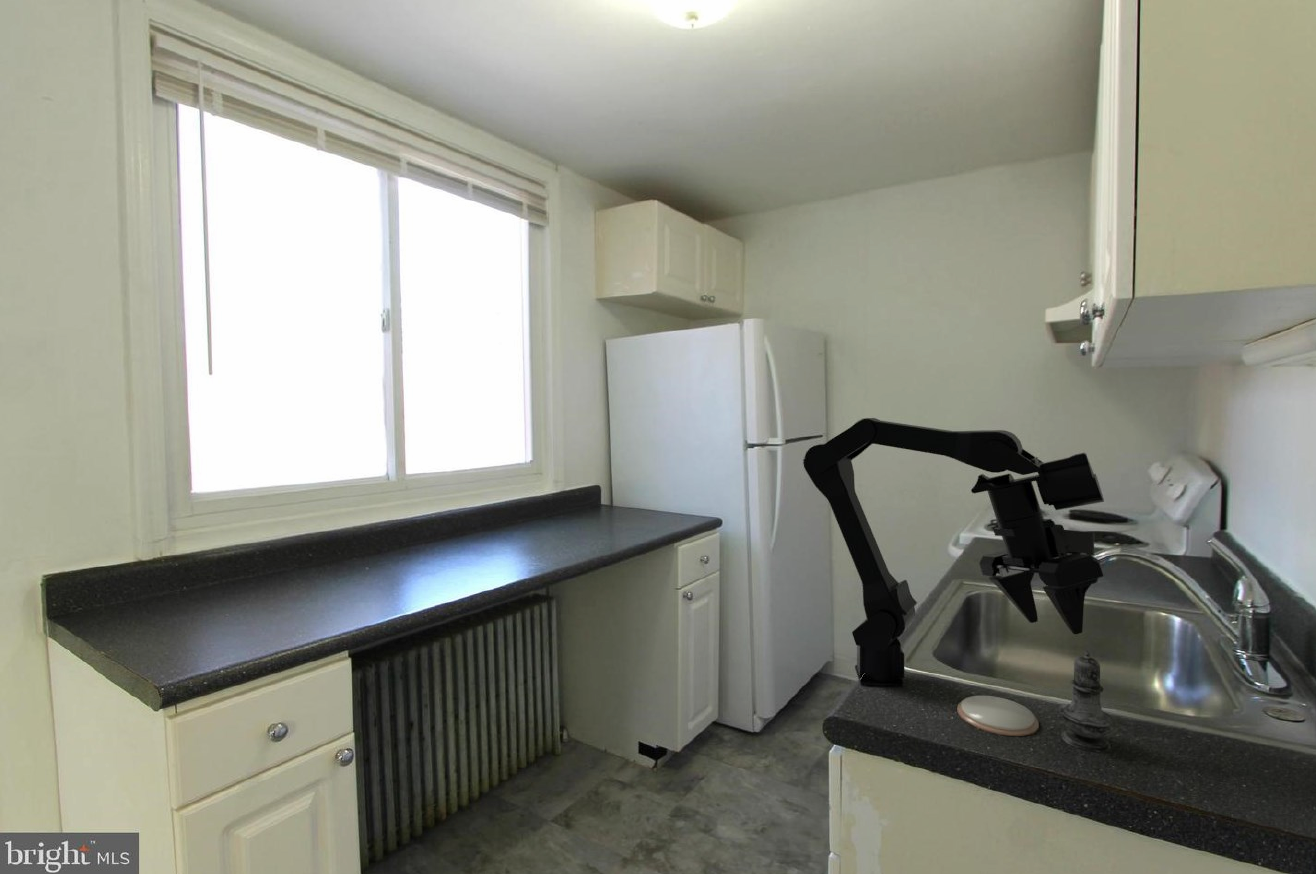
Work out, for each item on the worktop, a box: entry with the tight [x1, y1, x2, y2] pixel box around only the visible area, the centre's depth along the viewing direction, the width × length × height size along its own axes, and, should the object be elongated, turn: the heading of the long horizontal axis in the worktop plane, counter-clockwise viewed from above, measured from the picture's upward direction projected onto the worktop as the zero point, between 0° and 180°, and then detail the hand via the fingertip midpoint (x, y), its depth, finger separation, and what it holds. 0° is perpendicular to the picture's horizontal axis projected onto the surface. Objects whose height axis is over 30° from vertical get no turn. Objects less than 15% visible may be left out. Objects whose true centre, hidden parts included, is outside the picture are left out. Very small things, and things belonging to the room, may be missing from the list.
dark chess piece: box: [1058, 650, 1115, 753], centre depth 82 cm, size 6×6×12 cm
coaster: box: [956, 695, 1040, 737], centre depth 88 cm, size 10×10×1 cm
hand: (1054, 627), depth 87 cm, fingers open, 9 cm apart
